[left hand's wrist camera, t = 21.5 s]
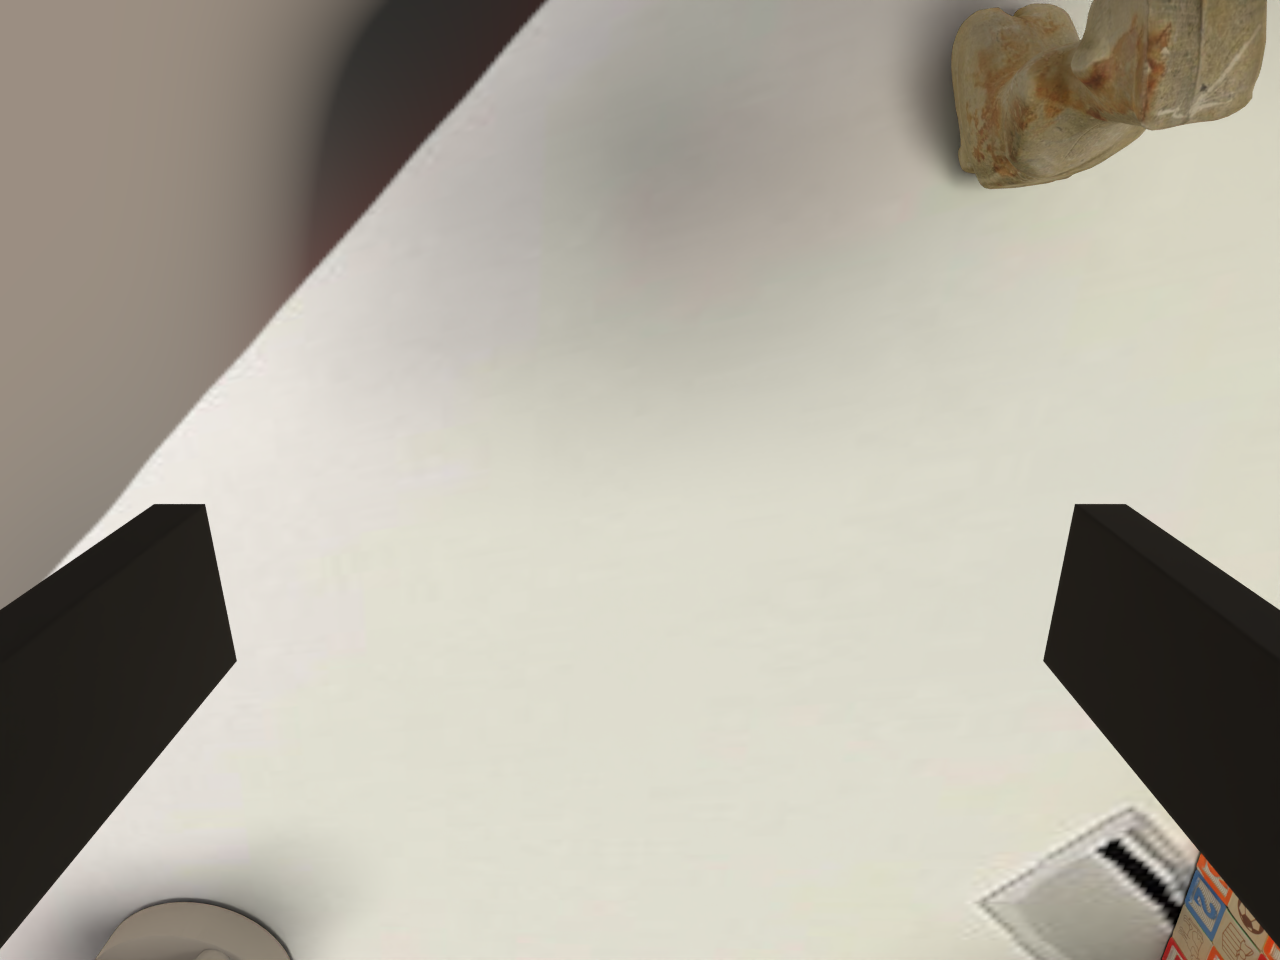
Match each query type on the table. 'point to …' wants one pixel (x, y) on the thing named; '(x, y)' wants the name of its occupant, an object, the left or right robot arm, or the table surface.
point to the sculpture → (1095, 80)
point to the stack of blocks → (1217, 924)
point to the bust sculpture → (190, 935)
